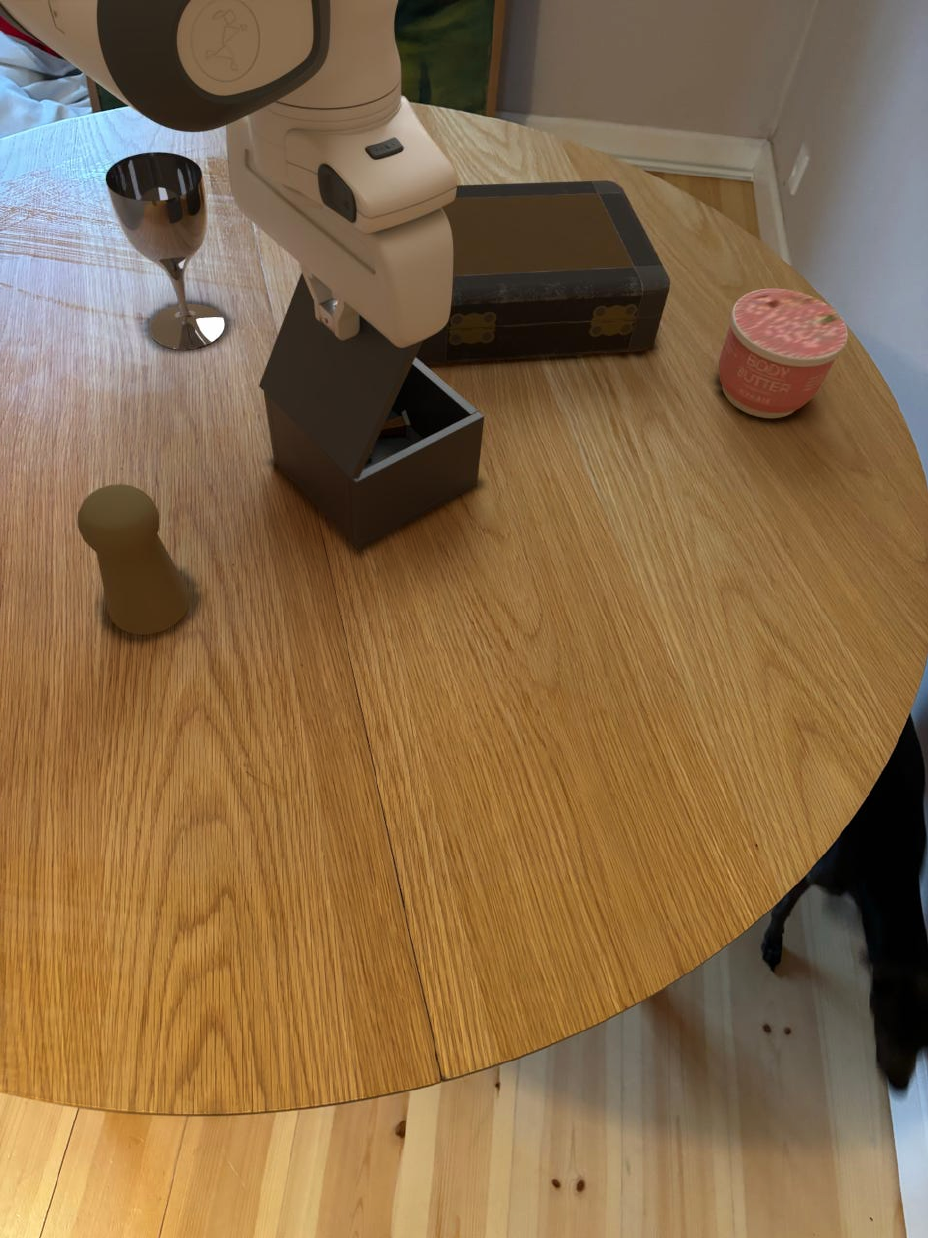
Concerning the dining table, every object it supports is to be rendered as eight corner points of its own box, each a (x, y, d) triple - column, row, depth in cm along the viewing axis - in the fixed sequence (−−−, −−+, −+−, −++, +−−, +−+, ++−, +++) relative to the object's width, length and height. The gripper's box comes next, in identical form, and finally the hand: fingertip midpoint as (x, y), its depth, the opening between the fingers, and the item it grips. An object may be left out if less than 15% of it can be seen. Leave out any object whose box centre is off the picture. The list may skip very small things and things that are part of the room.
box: (390, 405, 83) (390, 334, 76) (477, 485, 77) (484, 416, 71) (273, 461, 77) (263, 390, 71) (358, 551, 72) (355, 483, 66)
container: (837, 410, 86) (873, 341, 80) (751, 440, 83) (782, 371, 76) (769, 347, 91) (797, 277, 85) (686, 373, 88) (709, 302, 82)
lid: (328, 223, 64) (320, 221, 64) (436, 312, 59) (428, 310, 59) (266, 386, 71) (258, 385, 70) (359, 478, 66) (351, 478, 65)
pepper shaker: (131, 648, 65) (90, 551, 56) (93, 595, 68) (48, 495, 59) (205, 608, 68) (176, 510, 59) (165, 559, 70) (132, 457, 61)
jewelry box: (604, 239, 101) (618, 172, 95) (658, 353, 90) (677, 285, 83) (385, 249, 97) (384, 179, 91) (411, 369, 86) (413, 299, 79)
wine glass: (149, 357, 84) (108, 205, 72) (142, 306, 89) (102, 155, 77) (234, 346, 86) (207, 196, 74) (223, 297, 90) (196, 148, 78)
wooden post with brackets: (327, 477, 76) (317, 440, 79) (418, 459, 78) (405, 423, 80) (325, 462, 75) (315, 425, 77) (417, 444, 76) (404, 408, 78)
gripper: (186, 68, 55) (222, 270, 66) (384, 222, 46) (387, 424, 57) (274, 45, 57) (294, 243, 69) (477, 186, 49) (462, 387, 60)
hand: (337, 327), depth 63 cm, fingers closed, pressing on lid
